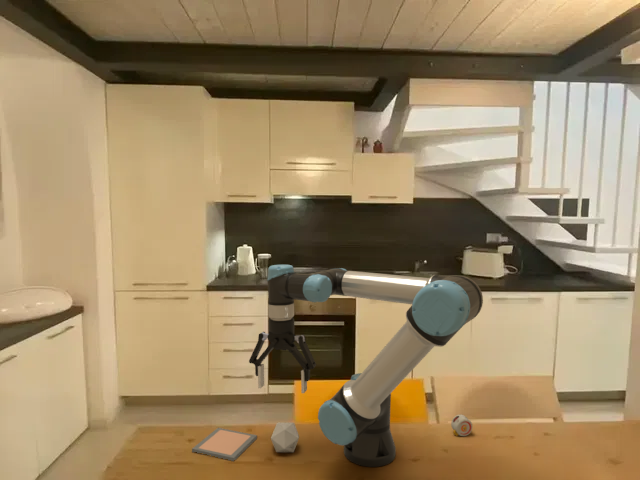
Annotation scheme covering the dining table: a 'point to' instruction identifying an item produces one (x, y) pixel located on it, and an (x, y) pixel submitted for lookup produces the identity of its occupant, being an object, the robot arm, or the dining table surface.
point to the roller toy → (461, 425)
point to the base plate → (225, 444)
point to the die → (285, 437)
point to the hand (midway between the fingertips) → (282, 389)
